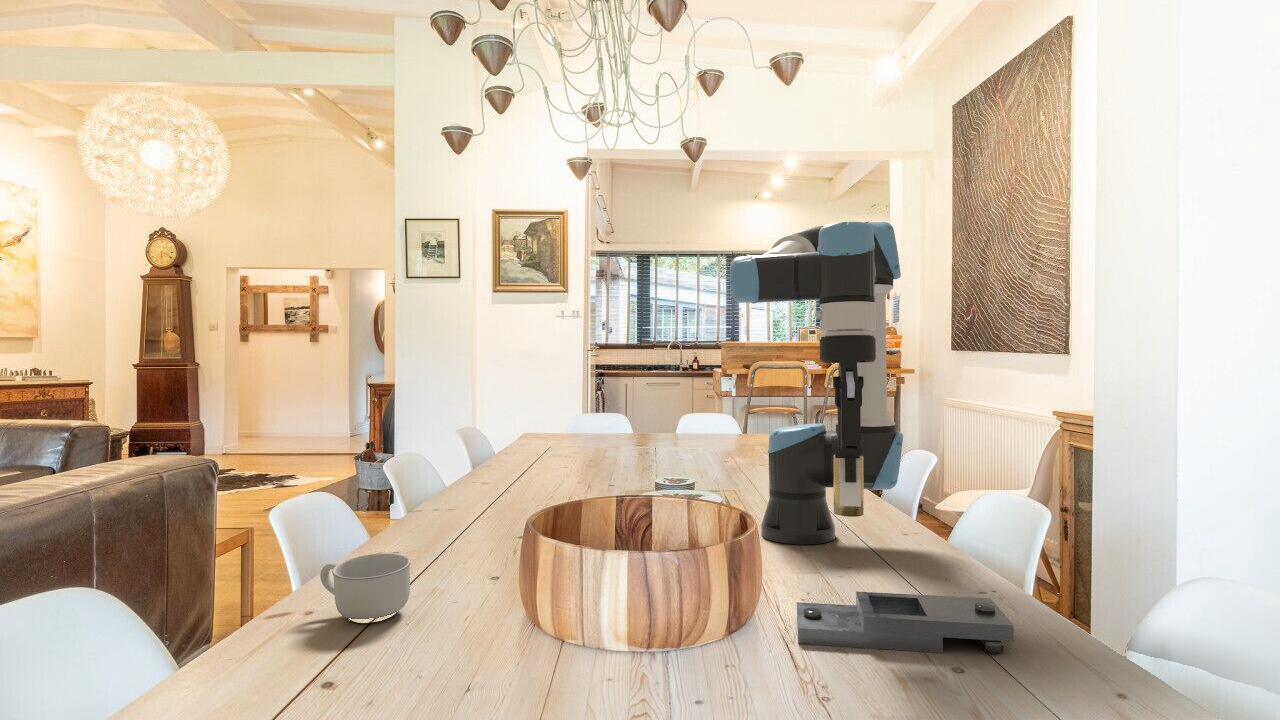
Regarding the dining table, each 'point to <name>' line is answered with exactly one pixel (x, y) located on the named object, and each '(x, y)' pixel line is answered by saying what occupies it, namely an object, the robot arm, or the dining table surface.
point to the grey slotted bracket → (904, 622)
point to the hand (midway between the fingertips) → (849, 502)
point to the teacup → (369, 584)
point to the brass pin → (839, 510)
